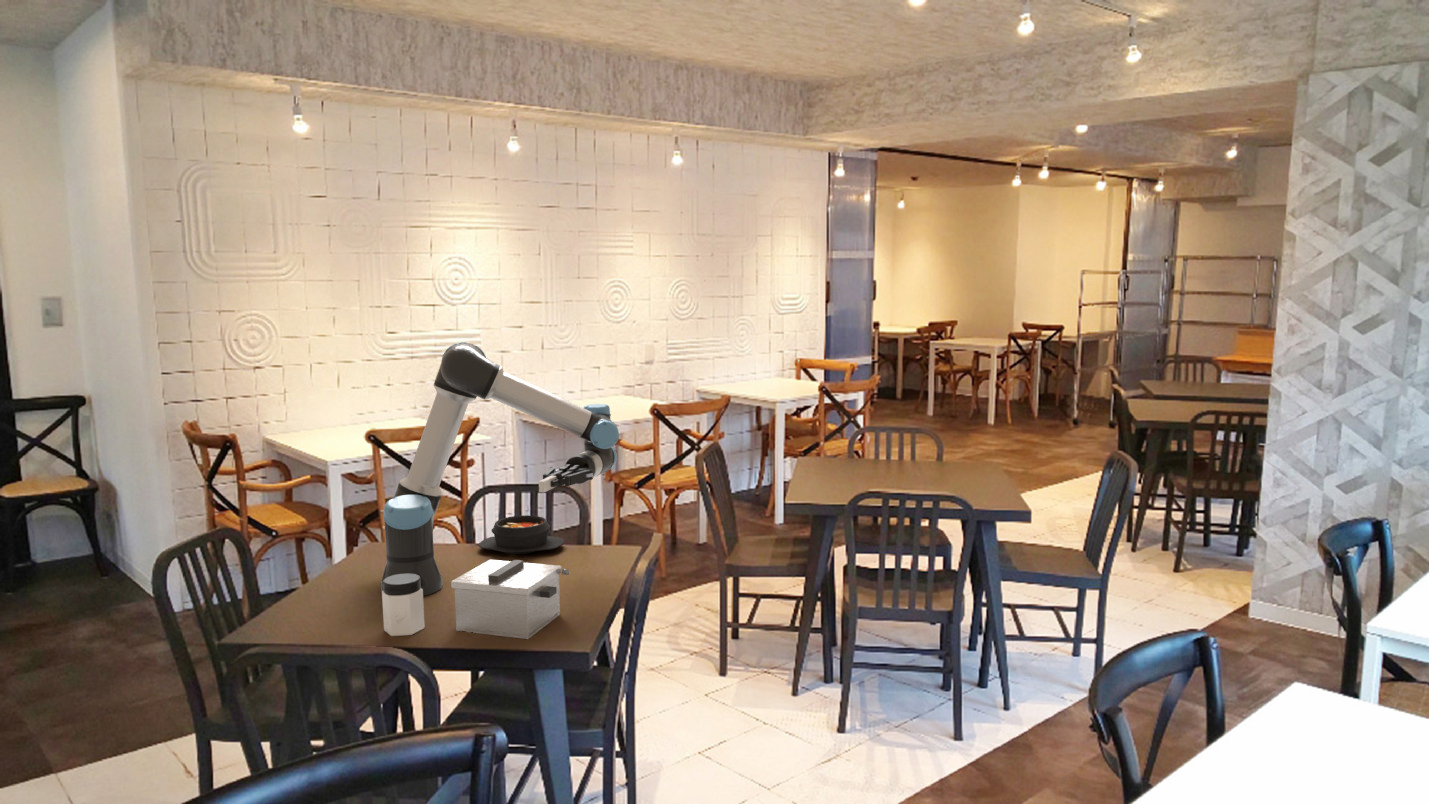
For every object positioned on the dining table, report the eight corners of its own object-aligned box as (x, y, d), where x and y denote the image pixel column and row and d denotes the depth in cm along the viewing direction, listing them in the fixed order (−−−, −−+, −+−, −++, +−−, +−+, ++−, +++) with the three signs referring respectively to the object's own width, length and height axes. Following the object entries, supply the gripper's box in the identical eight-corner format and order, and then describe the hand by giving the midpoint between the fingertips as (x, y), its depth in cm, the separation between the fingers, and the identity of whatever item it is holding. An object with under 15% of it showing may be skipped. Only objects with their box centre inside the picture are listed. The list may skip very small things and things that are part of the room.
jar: (380, 637, 215) (377, 585, 213) (387, 624, 223) (384, 574, 221) (421, 635, 216) (419, 583, 214) (427, 622, 224) (424, 572, 222)
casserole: (571, 541, 291) (570, 514, 290) (555, 559, 272) (555, 530, 271) (490, 539, 293) (489, 512, 292) (469, 557, 274) (468, 529, 273)
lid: (490, 565, 233) (489, 553, 232) (561, 572, 227) (561, 559, 227) (451, 587, 217) (450, 574, 216) (527, 595, 211) (526, 582, 211)
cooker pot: (487, 604, 236) (485, 560, 234) (572, 613, 229) (570, 568, 228) (447, 629, 219) (445, 583, 218) (537, 640, 212) (536, 592, 211)
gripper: (605, 482, 258) (565, 503, 236) (561, 479, 262) (518, 499, 240) (605, 455, 257) (565, 473, 235) (560, 452, 261) (517, 470, 239)
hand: (541, 486), depth 237 cm, fingers closed
